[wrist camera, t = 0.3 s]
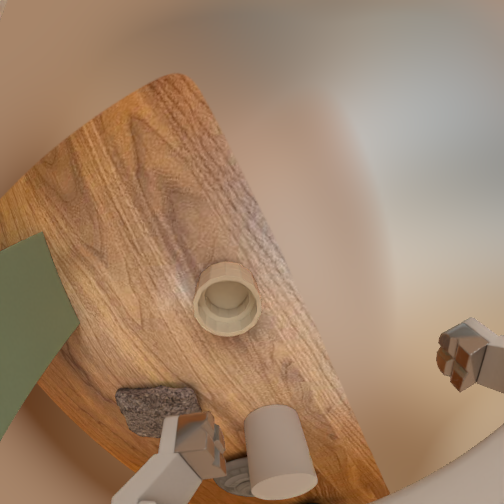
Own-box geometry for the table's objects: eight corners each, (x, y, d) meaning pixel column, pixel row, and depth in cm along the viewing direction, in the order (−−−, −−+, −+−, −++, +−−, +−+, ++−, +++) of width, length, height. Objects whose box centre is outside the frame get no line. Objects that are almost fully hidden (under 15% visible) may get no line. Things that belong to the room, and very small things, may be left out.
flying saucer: (206, 483, 42) (206, 505, 37) (222, 446, 39) (223, 472, 33) (279, 487, 45) (283, 507, 40) (307, 450, 41) (314, 474, 36)
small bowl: (188, 269, 30) (183, 286, 26) (248, 253, 30) (253, 267, 26) (206, 320, 32) (204, 342, 27) (263, 306, 32) (269, 327, 28)
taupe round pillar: (276, 442, 39) (289, 502, 28) (233, 429, 38) (238, 495, 26) (309, 413, 38) (330, 476, 26) (264, 398, 36) (278, 469, 25)
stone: (137, 423, 36) (131, 441, 33) (115, 382, 34) (106, 400, 30) (210, 422, 36) (208, 442, 33) (195, 379, 34) (192, 400, 30)
